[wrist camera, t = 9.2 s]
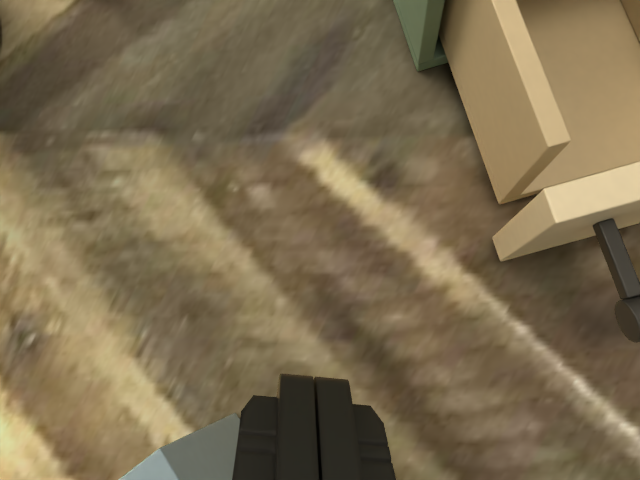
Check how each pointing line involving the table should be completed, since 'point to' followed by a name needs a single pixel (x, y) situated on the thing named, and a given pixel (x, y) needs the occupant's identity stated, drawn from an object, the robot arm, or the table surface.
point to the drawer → (556, 121)
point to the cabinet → (422, 31)
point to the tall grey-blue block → (194, 455)
